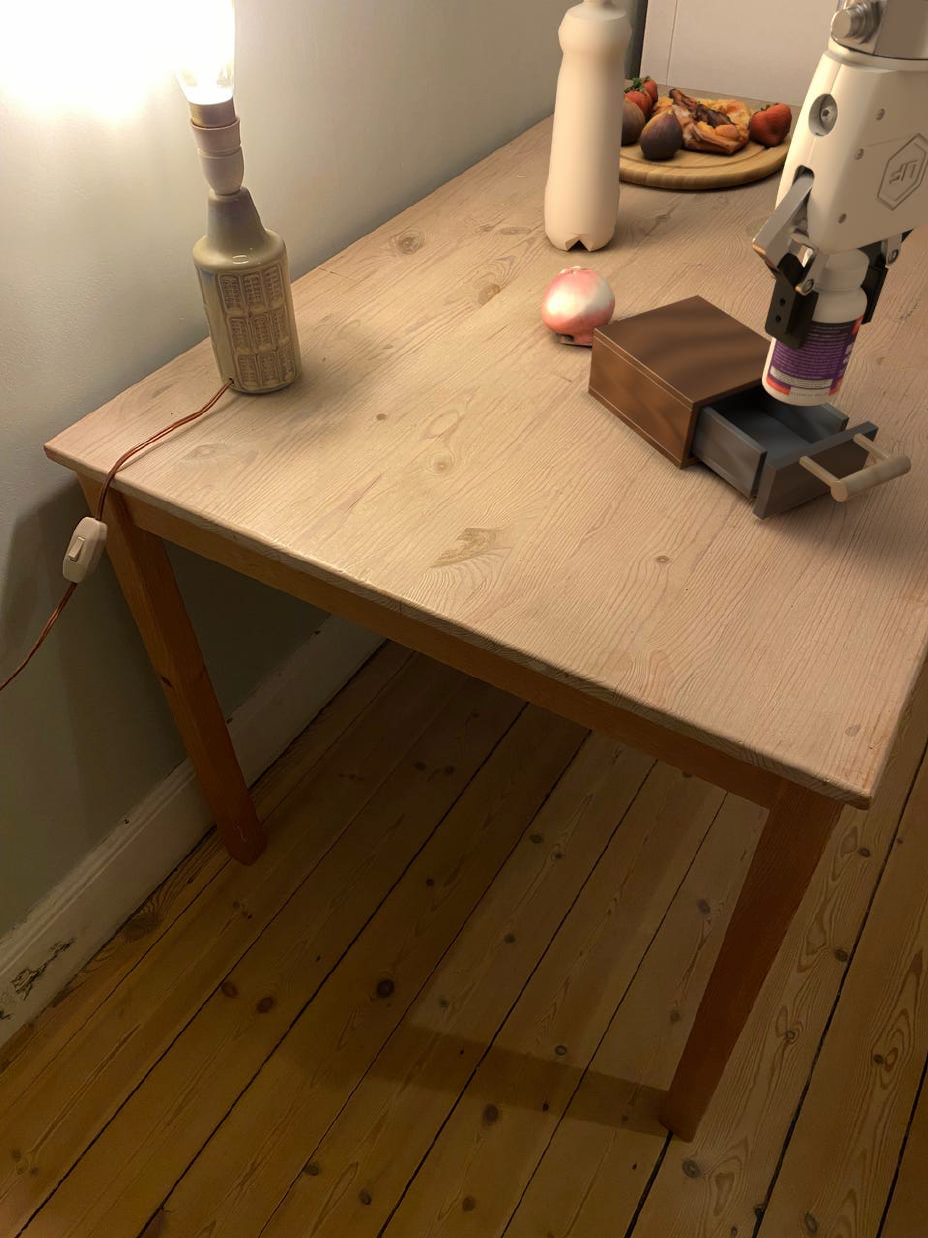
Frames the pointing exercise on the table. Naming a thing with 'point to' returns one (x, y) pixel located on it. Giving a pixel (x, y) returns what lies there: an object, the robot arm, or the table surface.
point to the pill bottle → (822, 336)
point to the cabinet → (673, 369)
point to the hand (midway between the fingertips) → (817, 325)
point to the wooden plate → (698, 139)
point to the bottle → (587, 126)
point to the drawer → (789, 450)
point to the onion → (577, 305)
